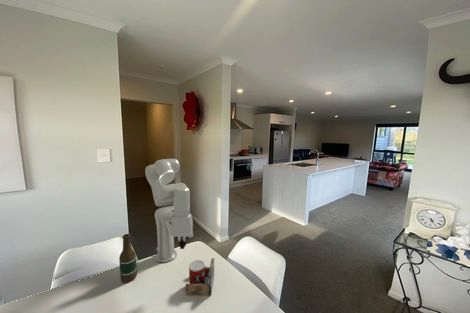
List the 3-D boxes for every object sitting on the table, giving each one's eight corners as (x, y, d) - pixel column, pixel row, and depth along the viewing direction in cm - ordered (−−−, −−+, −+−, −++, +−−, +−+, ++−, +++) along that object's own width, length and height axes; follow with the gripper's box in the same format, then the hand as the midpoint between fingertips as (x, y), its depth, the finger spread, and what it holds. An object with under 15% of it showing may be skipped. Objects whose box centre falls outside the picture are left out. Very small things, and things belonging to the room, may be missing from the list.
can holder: (185, 295, 91) (185, 275, 90) (192, 275, 105) (191, 257, 104) (211, 295, 91) (211, 275, 90) (214, 275, 105) (214, 257, 104)
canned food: (189, 293, 93) (189, 271, 92) (189, 281, 101) (188, 261, 99) (205, 290, 95) (205, 268, 94) (204, 278, 102) (203, 258, 101)
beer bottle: (117, 281, 101) (114, 237, 98) (130, 271, 108) (127, 230, 106) (127, 285, 98) (125, 240, 95) (140, 275, 105) (138, 232, 103)
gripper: (163, 215, 91) (165, 251, 93) (195, 215, 91) (196, 252, 93) (169, 209, 98) (170, 243, 100) (198, 209, 98) (199, 243, 100)
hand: (182, 247), depth 97 cm, fingers closed
